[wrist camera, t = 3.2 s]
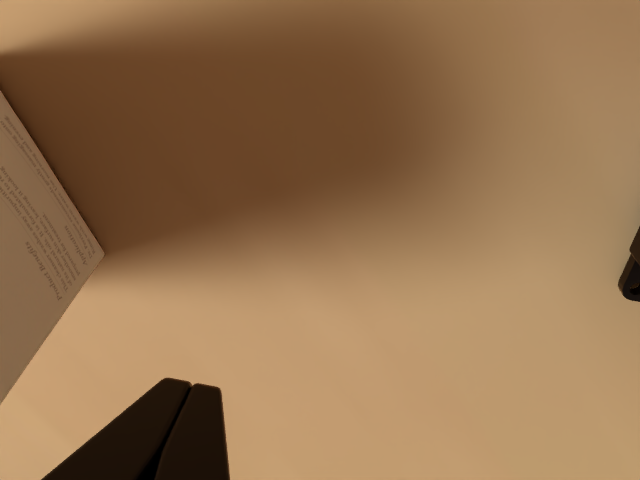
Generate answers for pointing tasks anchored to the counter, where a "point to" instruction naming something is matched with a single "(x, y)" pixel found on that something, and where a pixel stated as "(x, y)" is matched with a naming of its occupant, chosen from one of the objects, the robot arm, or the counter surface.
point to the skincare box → (35, 249)
